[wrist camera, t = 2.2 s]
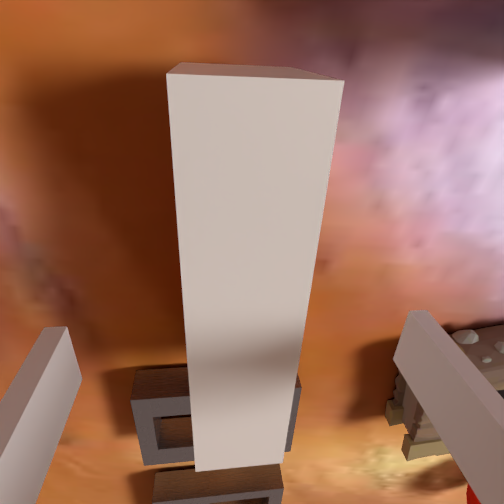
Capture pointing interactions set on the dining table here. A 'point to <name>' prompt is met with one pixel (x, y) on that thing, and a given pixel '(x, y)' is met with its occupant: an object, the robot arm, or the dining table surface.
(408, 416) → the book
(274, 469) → the keyhole plates
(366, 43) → the dining table surface
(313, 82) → the bar
